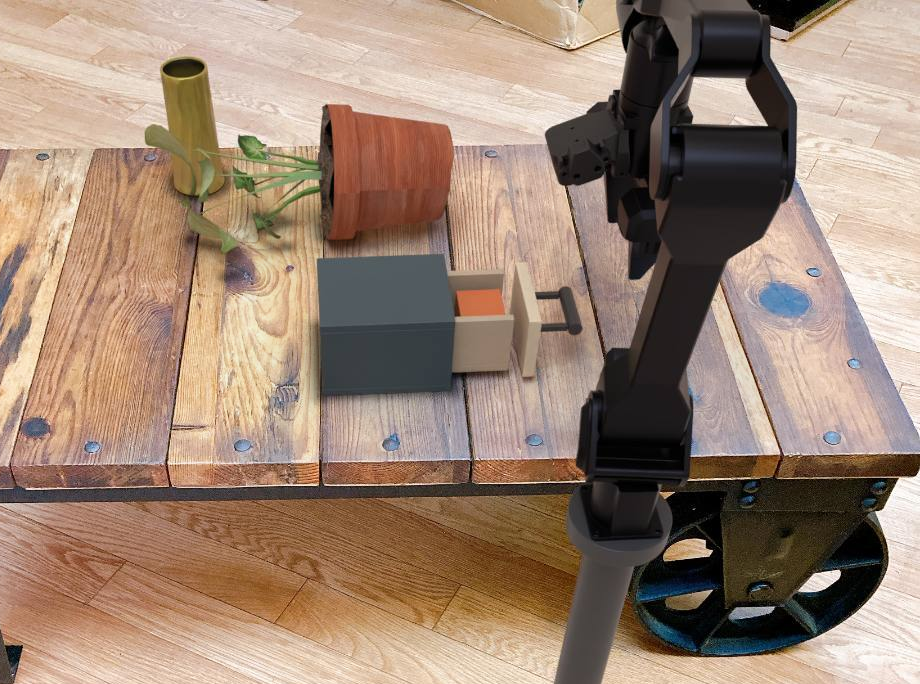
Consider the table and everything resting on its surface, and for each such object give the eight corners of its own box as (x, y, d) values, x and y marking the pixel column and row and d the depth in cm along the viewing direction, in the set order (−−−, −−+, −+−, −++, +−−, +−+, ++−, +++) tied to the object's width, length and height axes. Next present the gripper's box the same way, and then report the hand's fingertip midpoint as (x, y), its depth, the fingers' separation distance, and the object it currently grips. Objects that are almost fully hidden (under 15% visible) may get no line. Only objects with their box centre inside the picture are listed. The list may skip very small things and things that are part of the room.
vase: (165, 178, 134) (146, 62, 123) (211, 163, 136) (196, 49, 125) (187, 202, 130) (169, 86, 119) (233, 187, 132) (221, 71, 121)
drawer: (563, 314, 115) (572, 260, 110) (579, 374, 109) (589, 319, 104) (410, 320, 115) (412, 265, 109) (418, 381, 109) (420, 326, 103)
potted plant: (424, 196, 134) (129, 196, 129) (441, 78, 122) (117, 73, 117) (445, 280, 125) (128, 283, 119) (466, 161, 113) (115, 159, 107)
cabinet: (440, 322, 116) (444, 253, 109) (450, 390, 109) (455, 321, 102) (320, 327, 115) (316, 258, 109) (323, 396, 108) (319, 326, 102)
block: (502, 352, 110) (506, 316, 106) (458, 354, 110) (460, 318, 106) (496, 324, 113) (500, 288, 109) (453, 326, 112) (455, 290, 109)
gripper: (540, 41, 98) (522, 197, 110) (581, 155, 86) (556, 316, 98) (664, 37, 98) (633, 193, 110) (722, 149, 86) (680, 310, 98)
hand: (623, 249), depth 104 cm, fingers open, 9 cm apart
